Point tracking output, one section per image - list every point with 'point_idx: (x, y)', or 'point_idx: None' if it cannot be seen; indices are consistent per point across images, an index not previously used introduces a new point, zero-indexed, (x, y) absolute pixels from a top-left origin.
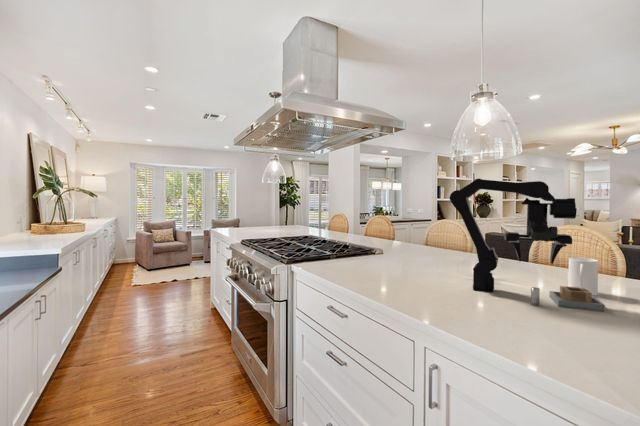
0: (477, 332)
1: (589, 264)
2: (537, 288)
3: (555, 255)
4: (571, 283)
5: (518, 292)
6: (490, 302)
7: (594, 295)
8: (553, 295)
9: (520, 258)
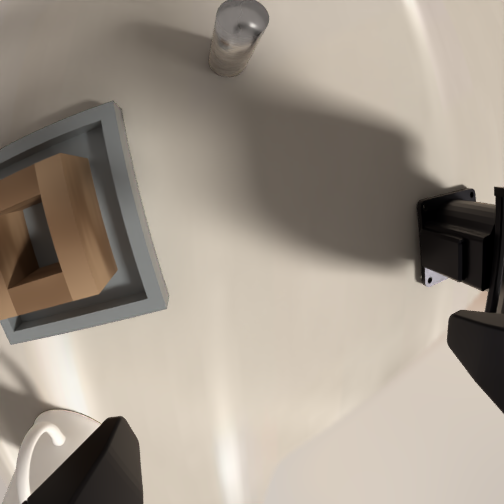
0: None
1: None
2: (229, 13)
3: (42, 493)
4: None
5: (316, 284)
6: (393, 28)
7: (37, 417)
8: (139, 216)
9: (479, 318)
